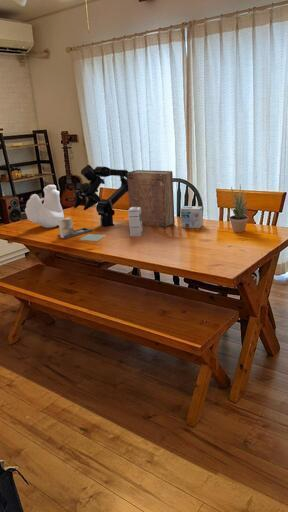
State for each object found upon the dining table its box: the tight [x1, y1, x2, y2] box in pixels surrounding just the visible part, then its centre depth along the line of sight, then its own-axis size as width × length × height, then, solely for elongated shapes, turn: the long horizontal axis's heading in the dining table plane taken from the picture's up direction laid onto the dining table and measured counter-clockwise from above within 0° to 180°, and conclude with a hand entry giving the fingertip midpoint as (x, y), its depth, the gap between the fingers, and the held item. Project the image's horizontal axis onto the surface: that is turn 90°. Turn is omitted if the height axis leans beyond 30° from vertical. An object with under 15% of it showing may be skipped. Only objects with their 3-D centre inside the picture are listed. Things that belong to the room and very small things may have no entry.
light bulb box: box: [180, 205, 204, 229], centre depth 224 cm, size 11×7×11 cm, turn 68°
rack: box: [57, 227, 93, 240], centre depth 225 cm, size 18×7×2 cm, turn 133°
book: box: [126, 169, 176, 229], centre depth 232 cm, size 25×9×30 cm, turn 51°
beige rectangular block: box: [58, 217, 75, 239], centre depth 220 cm, size 7×3×10 cm, turn 133°
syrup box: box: [127, 207, 144, 237], centre depth 214 cm, size 6×6×14 cm
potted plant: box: [228, 184, 250, 233], centre depth 207 cm, size 10×10×25 cm
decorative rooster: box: [24, 184, 65, 229], centre depth 242 cm, size 25×16×25 cm, turn 129°
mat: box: [78, 233, 107, 242], centre depth 216 cm, size 11×11×1 cm
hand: (79, 209), depth 224 cm, fingers open, 9 cm apart
